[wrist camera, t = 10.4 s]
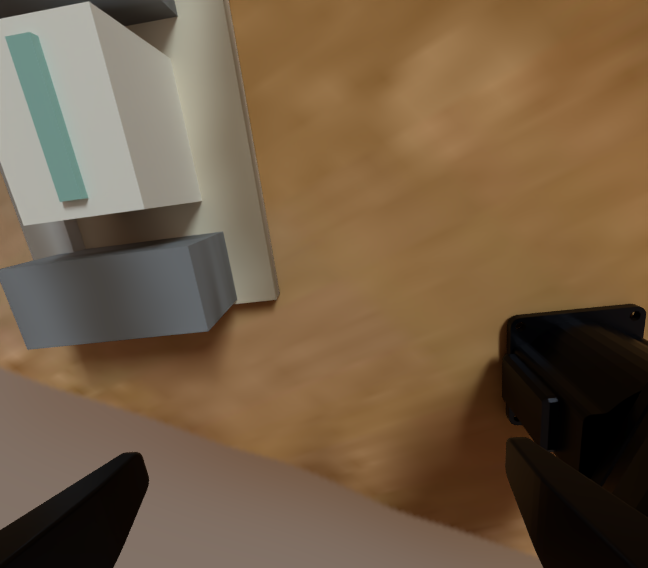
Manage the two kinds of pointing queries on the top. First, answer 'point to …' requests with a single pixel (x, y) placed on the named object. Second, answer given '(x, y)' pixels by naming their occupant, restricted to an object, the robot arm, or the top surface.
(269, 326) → the top surface
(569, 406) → the robot arm
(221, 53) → the rail board
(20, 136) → the module block
